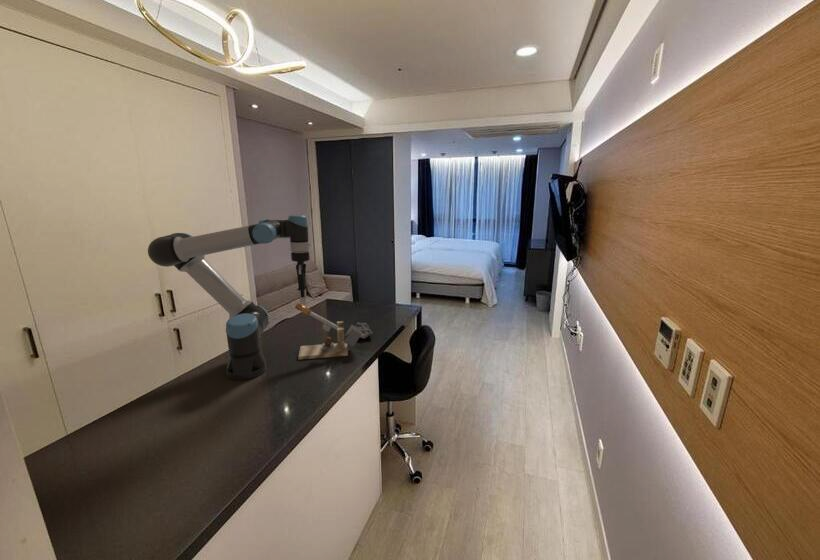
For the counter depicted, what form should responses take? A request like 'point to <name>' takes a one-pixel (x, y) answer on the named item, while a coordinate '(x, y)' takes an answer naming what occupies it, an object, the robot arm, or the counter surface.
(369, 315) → the counter surface
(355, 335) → the lever
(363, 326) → the rock
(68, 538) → the counter surface
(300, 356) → the tan angle plate
